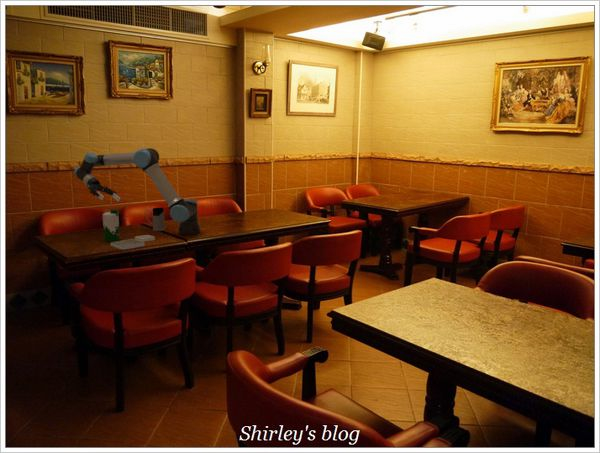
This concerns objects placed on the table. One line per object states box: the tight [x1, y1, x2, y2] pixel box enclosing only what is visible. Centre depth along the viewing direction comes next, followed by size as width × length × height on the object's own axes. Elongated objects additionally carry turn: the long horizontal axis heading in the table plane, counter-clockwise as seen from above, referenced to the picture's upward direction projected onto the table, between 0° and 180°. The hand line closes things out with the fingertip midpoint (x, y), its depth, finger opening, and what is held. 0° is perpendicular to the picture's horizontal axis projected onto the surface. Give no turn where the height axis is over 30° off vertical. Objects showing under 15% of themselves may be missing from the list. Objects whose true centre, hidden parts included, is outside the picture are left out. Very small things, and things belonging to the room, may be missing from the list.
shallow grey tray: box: [110, 238, 146, 251], centre depth 315 cm, size 15×15×2 cm
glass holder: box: [145, 207, 166, 232], centre depth 362 cm, size 9×14×15 cm, turn 78°
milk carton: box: [102, 209, 120, 243], centre depth 325 cm, size 9×9×20 cm
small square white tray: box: [134, 234, 156, 243], centre depth 330 cm, size 9×9×2 cm
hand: (111, 199), depth 330 cm, fingers open, 13 cm apart
